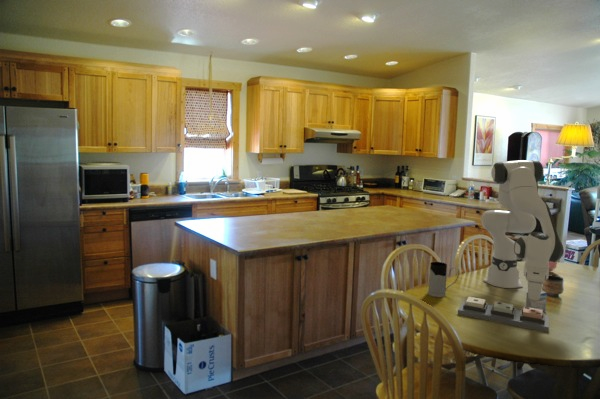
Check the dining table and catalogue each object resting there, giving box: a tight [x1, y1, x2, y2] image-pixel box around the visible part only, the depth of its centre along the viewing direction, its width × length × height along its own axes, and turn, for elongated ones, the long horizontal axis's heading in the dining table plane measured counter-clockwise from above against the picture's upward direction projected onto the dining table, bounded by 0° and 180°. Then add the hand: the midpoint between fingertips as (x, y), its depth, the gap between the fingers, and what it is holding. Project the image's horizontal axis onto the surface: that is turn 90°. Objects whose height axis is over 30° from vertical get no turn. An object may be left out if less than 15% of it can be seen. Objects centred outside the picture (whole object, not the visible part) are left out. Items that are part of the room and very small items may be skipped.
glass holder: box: [427, 261, 460, 298], centre depth 215 cm, size 9×14×15 cm, turn 84°
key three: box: [522, 306, 544, 319], centre depth 182 cm, size 7×7×2 cm
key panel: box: [457, 298, 550, 333], centre depth 188 cm, size 14×34×4 cm, turn 61°
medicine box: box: [525, 290, 548, 313], centre depth 196 cm, size 8×4×9 cm, turn 117°
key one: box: [466, 296, 486, 308], centre depth 193 cm, size 7×7×2 cm
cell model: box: [524, 259, 558, 273], centre depth 259 cm, size 17×20×11 cm
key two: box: [493, 300, 514, 314], centre depth 188 cm, size 7×7×2 cm
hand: (533, 305), depth 182 cm, fingers closed
